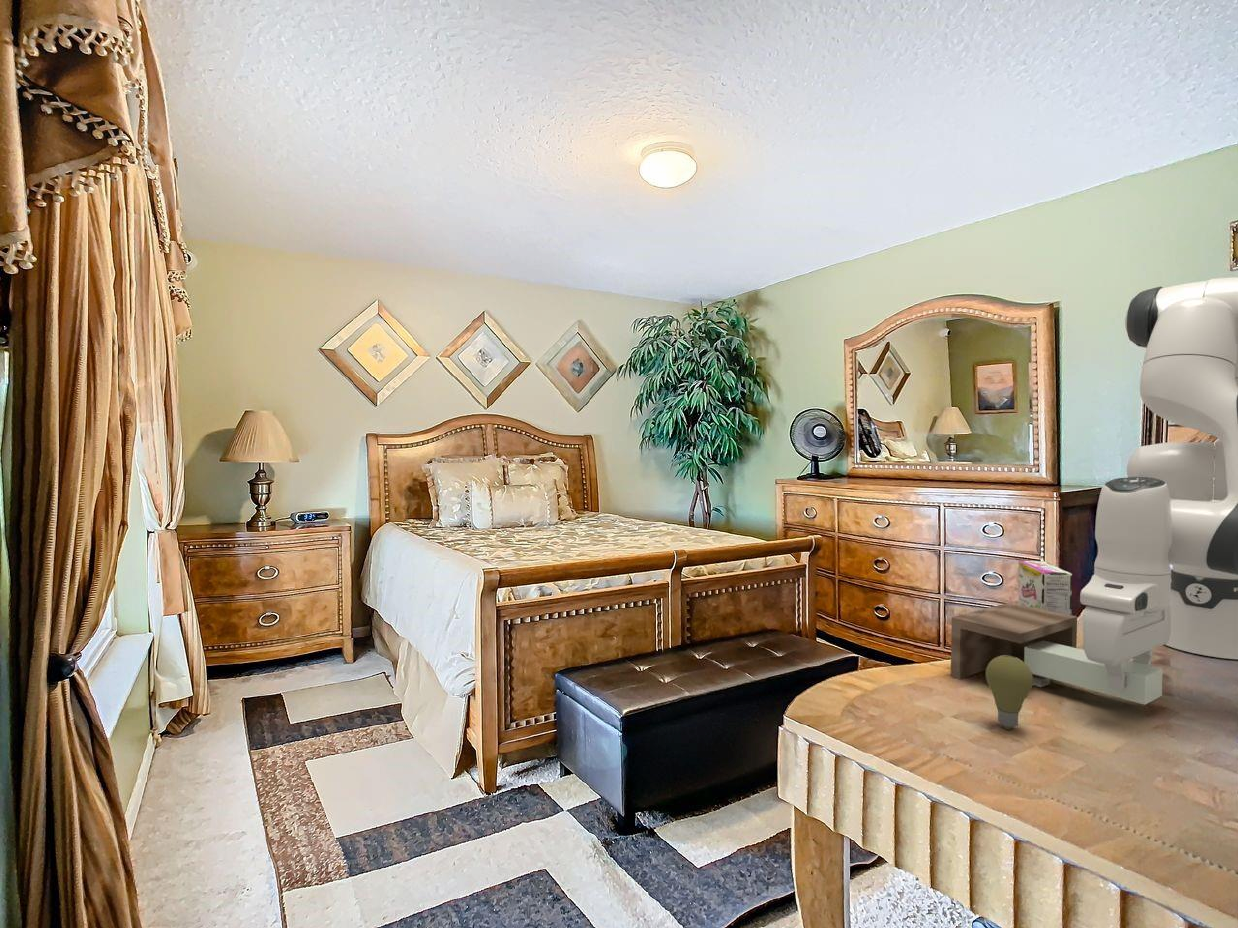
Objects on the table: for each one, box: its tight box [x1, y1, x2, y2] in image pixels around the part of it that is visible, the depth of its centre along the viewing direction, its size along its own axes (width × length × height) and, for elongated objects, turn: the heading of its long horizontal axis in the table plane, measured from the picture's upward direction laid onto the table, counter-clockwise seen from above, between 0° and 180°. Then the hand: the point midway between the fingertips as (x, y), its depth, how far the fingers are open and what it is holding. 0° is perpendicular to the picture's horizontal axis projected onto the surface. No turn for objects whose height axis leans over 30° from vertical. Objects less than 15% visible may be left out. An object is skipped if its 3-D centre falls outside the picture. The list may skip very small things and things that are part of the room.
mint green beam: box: [1024, 641, 1163, 705], centre depth 100 cm, size 6×16×4 cm, turn 32°
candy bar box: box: [1017, 560, 1073, 615], centre depth 120 cm, size 11×5×16 cm, turn 168°
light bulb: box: [985, 655, 1034, 730], centre depth 90 cm, size 6×6×10 cm
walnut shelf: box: [950, 602, 1078, 688], centre depth 109 cm, size 18×11×10 cm, turn 122°
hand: (1128, 682), depth 96 cm, fingers closed on mint green beam, 6 cm apart
